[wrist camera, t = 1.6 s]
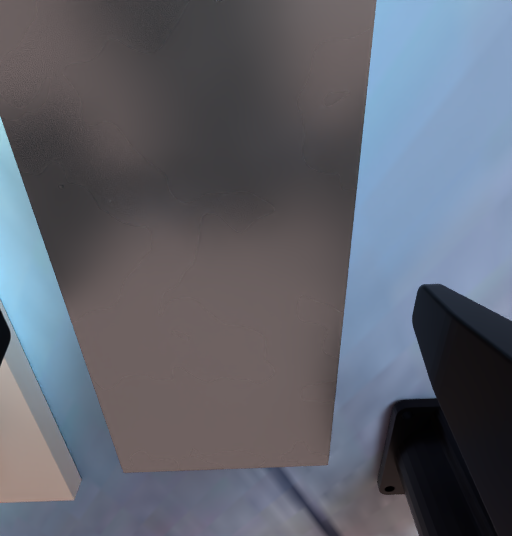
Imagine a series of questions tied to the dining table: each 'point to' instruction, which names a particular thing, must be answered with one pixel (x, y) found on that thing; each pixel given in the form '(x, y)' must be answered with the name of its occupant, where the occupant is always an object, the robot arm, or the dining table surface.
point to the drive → (196, 210)
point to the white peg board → (30, 436)
